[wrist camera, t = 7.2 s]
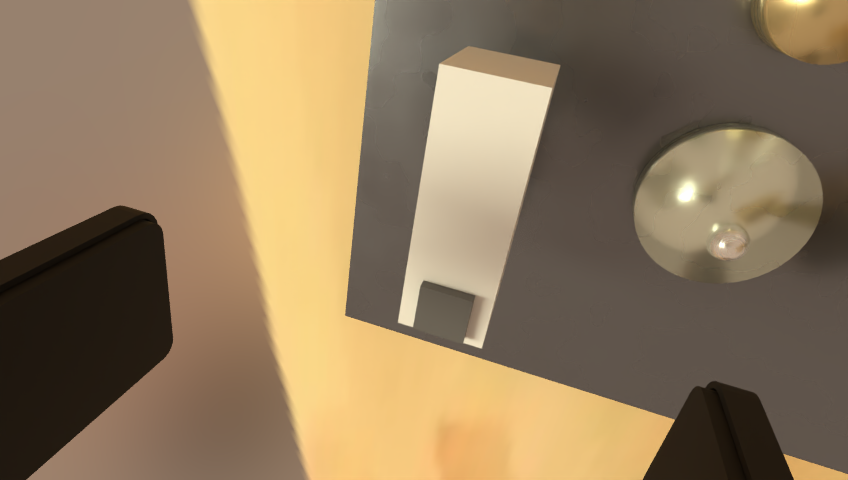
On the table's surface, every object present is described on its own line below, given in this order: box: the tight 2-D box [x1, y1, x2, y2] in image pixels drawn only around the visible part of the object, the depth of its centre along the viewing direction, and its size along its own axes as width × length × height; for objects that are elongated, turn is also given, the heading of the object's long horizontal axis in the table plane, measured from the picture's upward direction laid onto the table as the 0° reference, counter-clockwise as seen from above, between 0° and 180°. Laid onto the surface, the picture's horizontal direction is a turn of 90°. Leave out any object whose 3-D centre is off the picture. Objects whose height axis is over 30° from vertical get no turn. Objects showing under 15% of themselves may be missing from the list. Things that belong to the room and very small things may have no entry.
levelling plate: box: [345, 0, 848, 474], centre depth 16 cm, size 18×24×4 cm
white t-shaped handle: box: [398, 46, 560, 349], centre depth 15 cm, size 7×2×6 cm, turn 171°
